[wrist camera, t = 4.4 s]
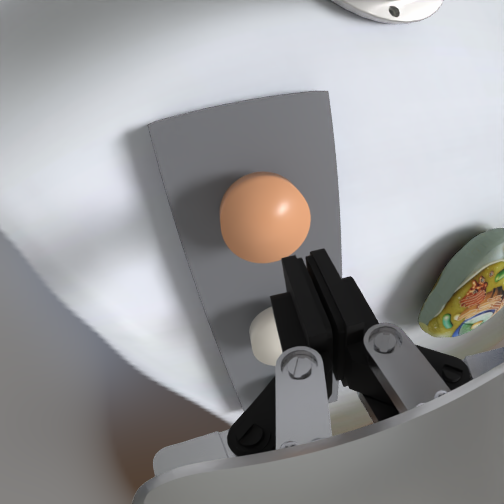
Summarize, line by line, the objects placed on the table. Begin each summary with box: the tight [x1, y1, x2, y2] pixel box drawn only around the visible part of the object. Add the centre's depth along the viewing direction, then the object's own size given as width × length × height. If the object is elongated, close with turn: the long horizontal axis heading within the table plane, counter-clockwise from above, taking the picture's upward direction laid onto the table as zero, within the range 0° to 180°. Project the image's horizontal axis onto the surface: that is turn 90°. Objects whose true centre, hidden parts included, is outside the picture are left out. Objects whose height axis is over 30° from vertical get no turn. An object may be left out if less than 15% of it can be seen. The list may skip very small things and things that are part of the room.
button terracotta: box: [220, 172, 311, 263], centre depth 16 cm, size 5×5×2 cm
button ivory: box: [249, 307, 282, 366], centre depth 21 cm, size 5×5×2 cm
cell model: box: [418, 228, 504, 338], centre depth 24 cm, size 11×8×15 cm
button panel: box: [148, 91, 342, 412], centre depth 23 cm, size 30×10×2 cm, turn 10°
